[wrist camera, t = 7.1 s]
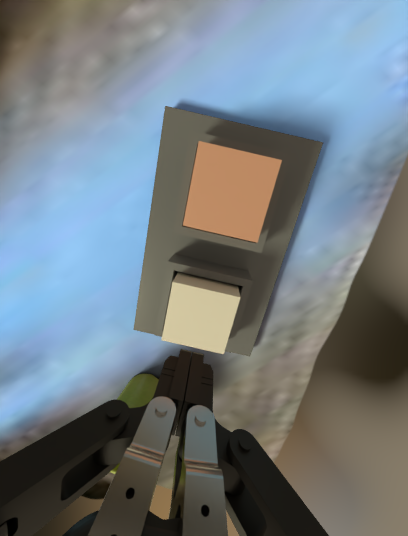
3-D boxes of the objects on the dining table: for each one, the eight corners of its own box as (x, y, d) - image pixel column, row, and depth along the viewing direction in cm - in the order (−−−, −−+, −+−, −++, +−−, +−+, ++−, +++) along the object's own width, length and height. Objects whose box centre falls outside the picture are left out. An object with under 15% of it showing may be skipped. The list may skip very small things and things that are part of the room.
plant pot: (109, 368, 33) (72, 423, 24) (168, 359, 31) (150, 414, 23) (129, 414, 35) (101, 479, 27) (184, 407, 34) (173, 473, 26)
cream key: (168, 324, 25) (161, 340, 22) (178, 272, 23) (172, 281, 20) (222, 337, 25) (223, 354, 22) (237, 285, 23) (240, 297, 20)
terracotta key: (187, 222, 21) (182, 225, 18) (201, 150, 19) (198, 140, 16) (252, 237, 21) (257, 242, 18) (272, 166, 19) (282, 160, 16)
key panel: (137, 323, 30) (122, 346, 25) (168, 112, 22) (155, 87, 18) (248, 349, 30) (254, 376, 25) (316, 146, 23) (343, 130, 18)
